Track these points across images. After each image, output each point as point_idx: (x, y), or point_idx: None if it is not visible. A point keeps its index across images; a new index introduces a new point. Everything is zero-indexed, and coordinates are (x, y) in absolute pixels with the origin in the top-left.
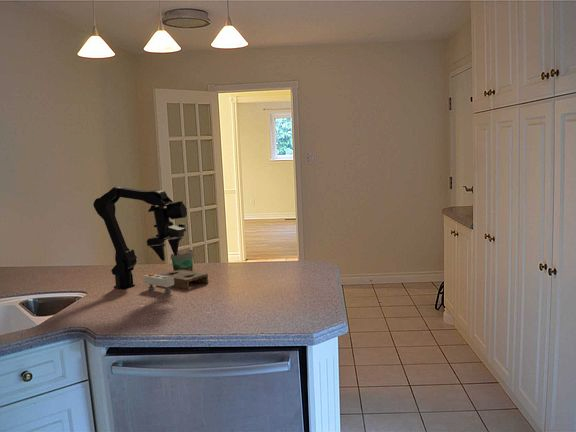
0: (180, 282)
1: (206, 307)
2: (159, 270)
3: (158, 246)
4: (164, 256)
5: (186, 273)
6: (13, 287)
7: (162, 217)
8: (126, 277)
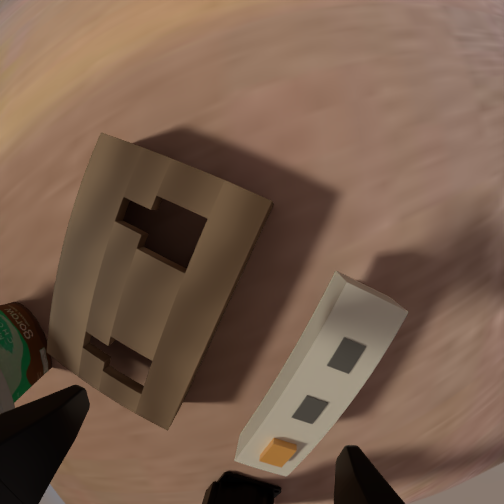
0: (245, 262)
1: (489, 56)
2: None
3: None
4: (360, 476)
5: (104, 278)
6: None
7: None
8: None
